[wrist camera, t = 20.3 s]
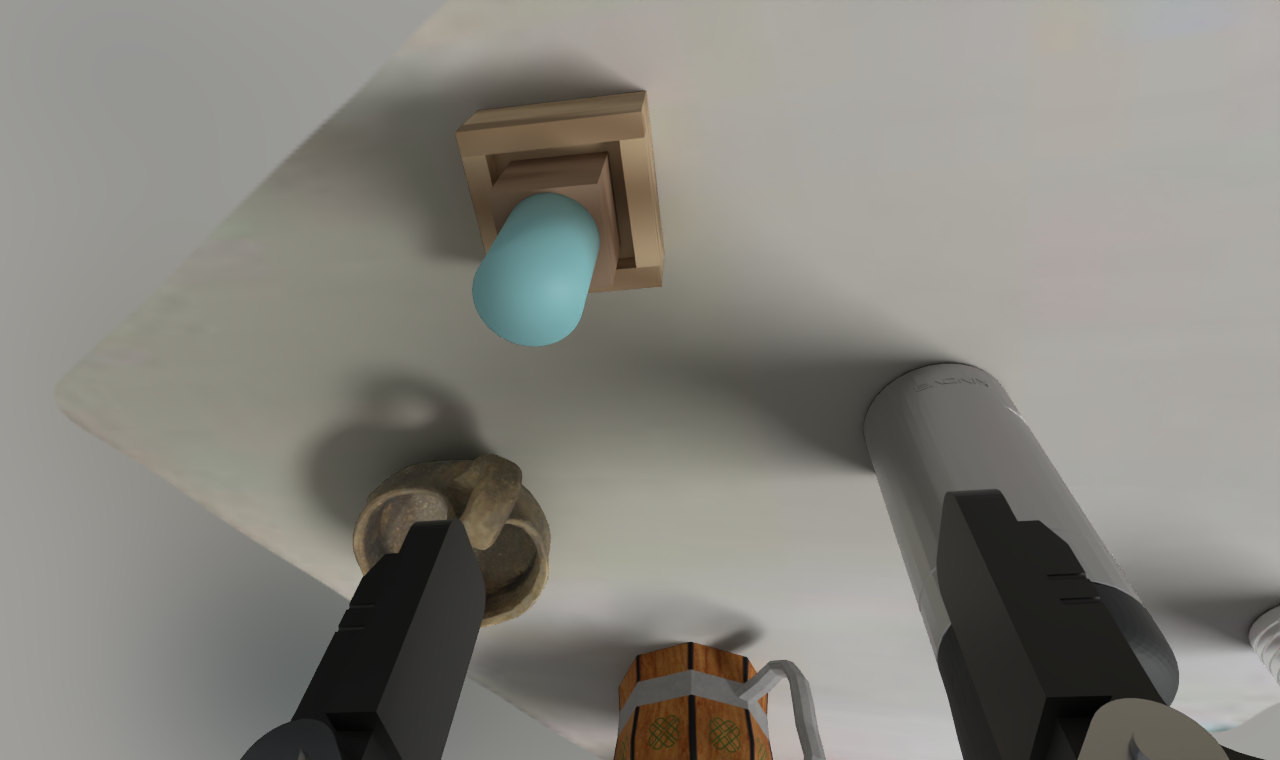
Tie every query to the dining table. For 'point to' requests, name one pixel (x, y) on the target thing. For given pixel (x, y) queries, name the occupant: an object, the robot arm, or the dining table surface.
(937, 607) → the robot arm
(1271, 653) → the water bottle
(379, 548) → the bowl
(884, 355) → the dining table surface
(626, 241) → the oak base
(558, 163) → the walnut block
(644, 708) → the mug
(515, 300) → the teal cylinder
